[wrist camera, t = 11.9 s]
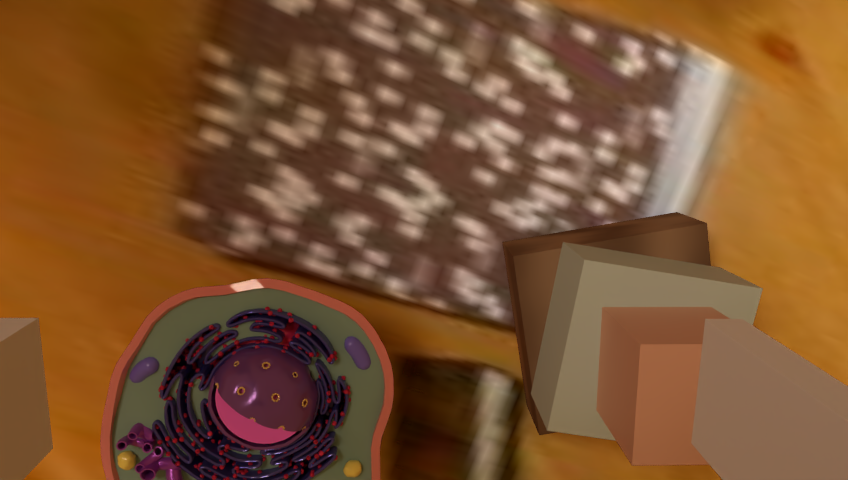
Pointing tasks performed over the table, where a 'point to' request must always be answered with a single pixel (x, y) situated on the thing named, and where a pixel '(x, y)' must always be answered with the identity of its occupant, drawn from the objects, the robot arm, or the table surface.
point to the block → (652, 380)
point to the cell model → (249, 389)
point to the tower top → (582, 313)
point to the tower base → (539, 255)
